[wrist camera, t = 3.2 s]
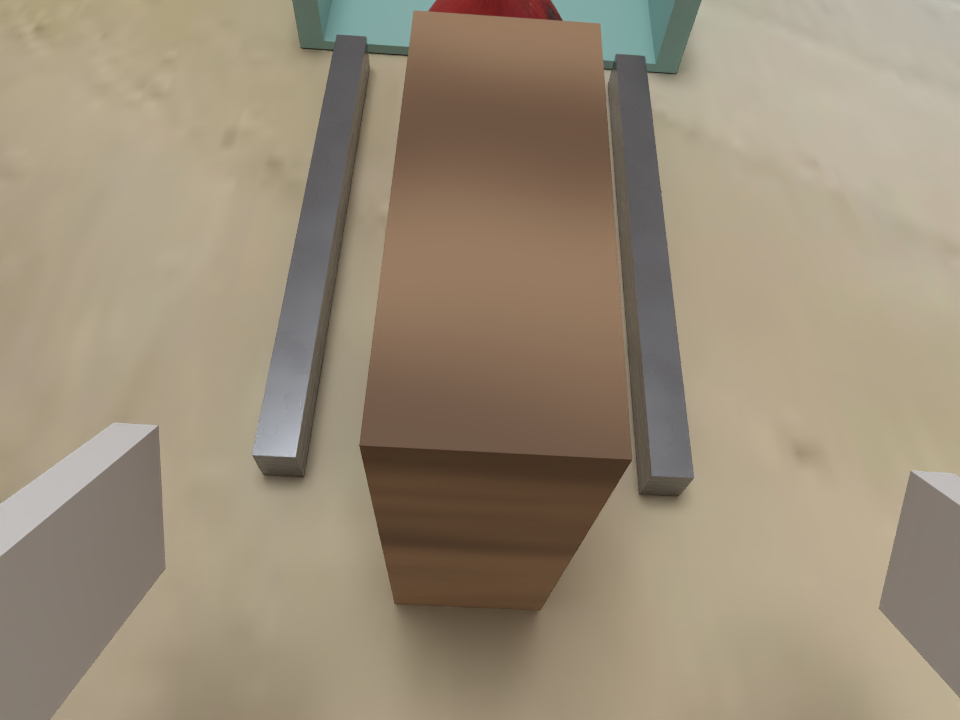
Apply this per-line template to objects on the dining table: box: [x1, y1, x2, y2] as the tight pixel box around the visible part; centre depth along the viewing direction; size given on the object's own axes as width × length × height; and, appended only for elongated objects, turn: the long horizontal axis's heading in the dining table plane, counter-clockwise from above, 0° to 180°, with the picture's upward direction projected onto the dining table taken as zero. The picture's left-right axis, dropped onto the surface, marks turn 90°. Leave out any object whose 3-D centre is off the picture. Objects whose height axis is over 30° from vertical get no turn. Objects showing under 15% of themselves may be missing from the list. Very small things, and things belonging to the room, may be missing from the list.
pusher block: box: [359, 10, 632, 610], centre depth 18 cm, size 10×4×11 cm, turn 178°
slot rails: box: [252, 34, 694, 496], centre depth 26 cm, size 18×12×2 cm
